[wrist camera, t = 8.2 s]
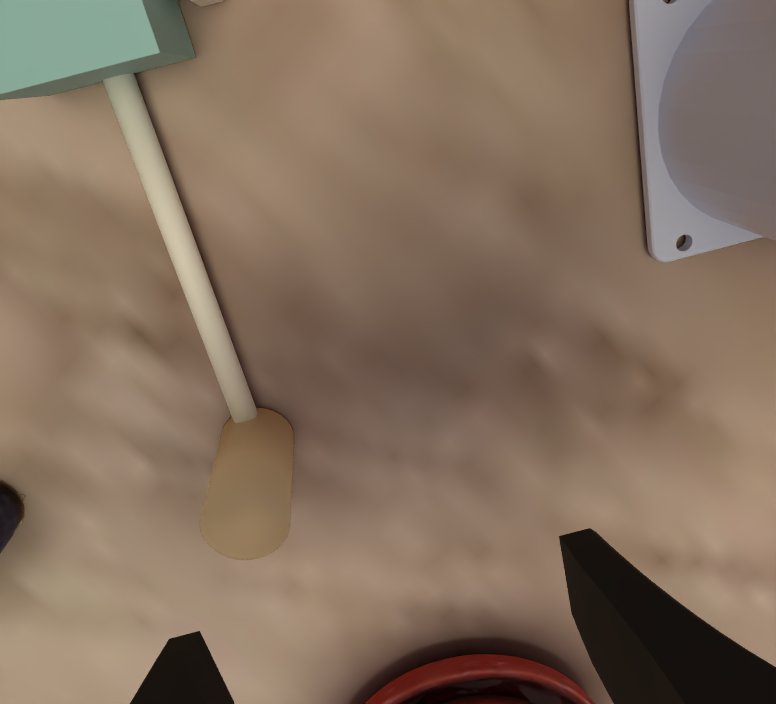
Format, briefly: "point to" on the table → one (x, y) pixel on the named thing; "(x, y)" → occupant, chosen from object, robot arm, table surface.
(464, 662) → the plant pot
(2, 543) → the flask
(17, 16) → the toy mallet
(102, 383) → the table surface
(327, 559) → the table surface
